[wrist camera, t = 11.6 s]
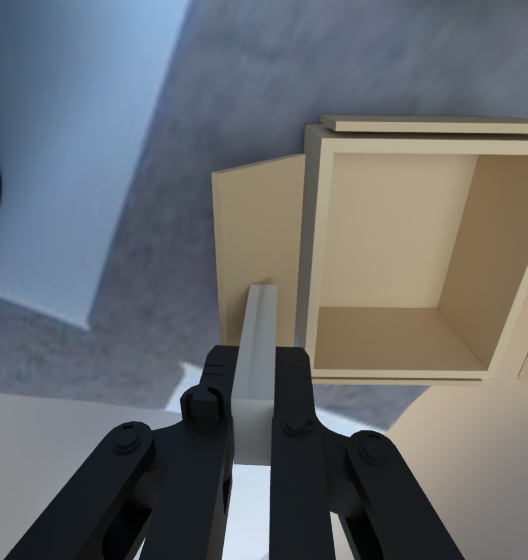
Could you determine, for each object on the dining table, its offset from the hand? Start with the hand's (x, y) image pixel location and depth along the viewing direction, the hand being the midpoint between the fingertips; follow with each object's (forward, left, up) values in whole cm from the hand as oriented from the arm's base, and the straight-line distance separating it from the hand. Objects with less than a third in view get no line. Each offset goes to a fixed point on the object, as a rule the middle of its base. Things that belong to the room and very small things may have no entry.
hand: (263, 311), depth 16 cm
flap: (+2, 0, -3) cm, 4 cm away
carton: (+9, 0, -12) cm, 15 cm away
